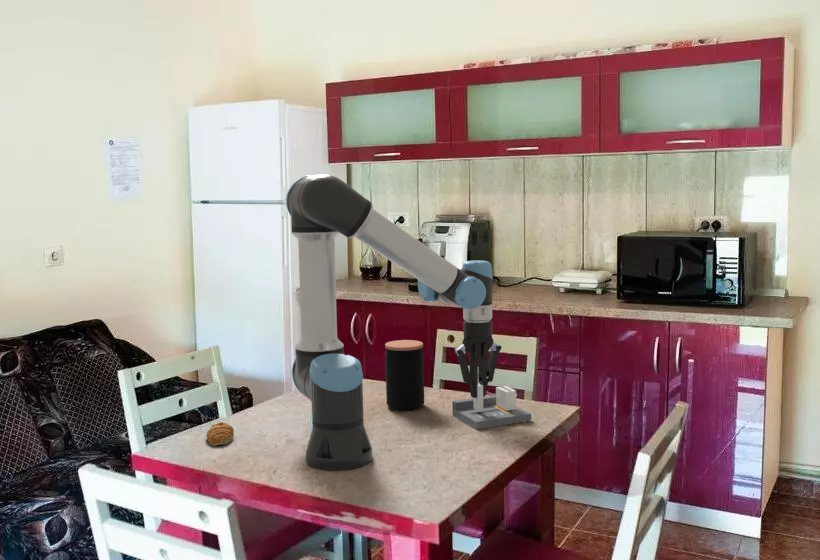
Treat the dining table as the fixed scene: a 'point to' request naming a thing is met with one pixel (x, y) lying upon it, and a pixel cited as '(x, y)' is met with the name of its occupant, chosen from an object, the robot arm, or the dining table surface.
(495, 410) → the grey slider base
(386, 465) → the dining table surface
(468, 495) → the dining table surface
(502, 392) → the fader
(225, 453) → the dining table surface
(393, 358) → the coffee jar
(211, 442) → the pastry
